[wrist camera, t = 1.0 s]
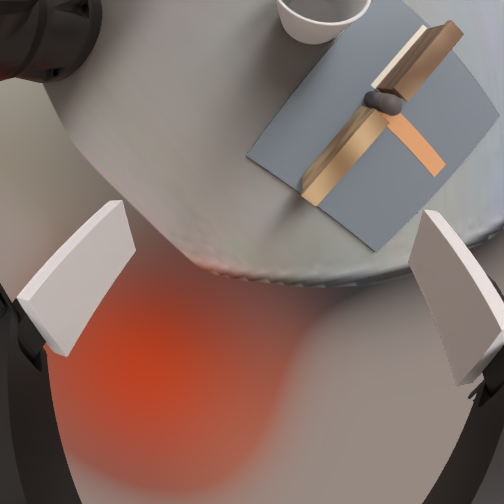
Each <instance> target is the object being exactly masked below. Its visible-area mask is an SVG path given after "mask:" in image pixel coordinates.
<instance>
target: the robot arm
mask: <svg viewBox="0 0 504 504" xmlns="http://www.w3.org/2000/svg"><path fill="white" fill-rule="evenodd" d="M101 20H102V7H101V2H100V0H0V81H2V80H5V79H10V78H14V77H16V78H20V79H25V80H30V81H34V82H38V83H48V82H53V81H58V80H61V79H64V78H66V77H67V76H69V75H70V74H72V73H73V72H74V71H75V70H76V69H77V68H78V67H79V66H80V65H81V64H82V63H83V62H84V60H85V59H86V58H87V56H88V55H89V53H90V51H91V50H92V48H93V46H94V44H95V41H96V39H97V36H98V33H99V30H100V26H101ZM135 251H136V249H135V246H134V242H133V239H132V235H131V232H130V228H129V224H128V220H127V217H126V213H125V209H124V204H123V200H116V201H109V202H108V203H107V204H105V205H104V206H103V207H102V208H101V209H100V210H99V211H97V212H96V213H95V214H94V215H93V216H92V217H91V218H90V219H89V220H88V221H87V222H86V223H85V224H83V225H82V226H81V227H80V228H79V229H78V230H77V231H76V232H75V233H74V234H73V235H72V236H71V237H70V238H69V239H68V240H67V241H66V242H65V243H64V244H63V245H62V246H61V247H60V248H59V249H58V250H57V252H55V254H54V255H53V256H52V257H51V258H50V259H49V260H48V261H47V262H46V263H45V264H44V266H43V267H42V268H41V269H40V270H39V271H38V272H37V274H35V276H34V277H33V278H32V279H31V280H30V281H29V283H28V284H27V285H26V286H25V287H24V289H23V290H22V291H21V292H20V294H19V295H18V296H17V297H16V299H15V300H14V301H13V303H12V302H11V300H10V299H9V297H8V296H7V294H6V292H5V290H4V289H3V287H2V285H1V284H0V504H82V503H81V500H80V498H79V495H78V493H77V490H76V488H75V485H74V482H73V479H72V476H71V473H70V470H69V467H68V464H67V461H66V457H65V454H64V450H63V447H62V443H61V439H60V435H59V431H58V427H57V422H56V417H55V412H54V408H53V401H52V395H51V389H50V381H49V373H48V364H47V354H46V351H45V350H44V348H43V346H44V344H45V342H46V343H47V344H48V345H49V347H50V348H51V349H52V351H53V352H55V353H57V354H60V355H63V356H66V357H68V355H69V353H70V351H71V350H72V348H73V346H74V344H75V343H76V341H77V339H78V337H79V336H80V334H81V332H82V331H83V329H84V327H85V326H86V324H87V323H88V321H89V319H90V318H91V316H92V314H93V313H94V311H95V310H96V308H97V307H98V305H99V303H100V302H101V300H102V299H103V297H104V296H105V294H106V293H107V291H108V290H109V288H110V287H111V285H112V284H113V282H114V281H115V279H116V278H117V276H118V275H119V274H120V272H121V271H122V269H123V268H124V266H125V265H126V264H127V262H128V261H129V259H130V258H131V257H132V255H133V254H134V253H135ZM408 263H409V265H410V267H411V270H412V272H413V274H414V276H415V278H416V280H417V282H418V284H419V287H420V289H421V291H422V293H423V296H424V298H425V300H426V302H427V305H428V307H429V310H430V312H431V314H432V317H433V319H434V322H435V325H436V327H437V330H438V332H439V335H440V338H441V340H442V343H443V346H444V349H445V352H446V355H447V358H448V361H449V363H450V367H451V370H452V373H453V377H454V380H455V383H456V386H460V385H464V384H469V383H472V382H473V381H474V380H475V379H476V378H477V377H478V376H479V375H480V374H481V373H483V376H484V380H483V381H482V382H481V383H480V384H479V385H478V386H477V388H475V390H473V391H472V392H471V393H470V395H469V397H468V398H469V399H470V398H471V397H473V395H475V394H476V393H477V394H476V397H475V399H474V400H473V401H474V403H473V406H472V408H471V411H470V414H469V416H468V419H467V421H466V424H465V426H464V429H463V431H462V433H461V435H460V437H459V439H458V442H457V444H456V446H455V448H454V450H453V452H452V454H451V456H450V458H449V460H448V462H447V464H446V466H445V467H444V469H443V471H442V473H441V474H440V476H439V478H438V480H437V482H436V483H435V485H434V486H433V488H432V490H431V491H430V493H429V494H428V496H427V497H426V499H425V500H424V502H423V503H422V504H504V296H503V295H502V294H501V293H502V292H501V291H500V289H499V288H498V286H497V285H496V283H495V282H494V281H493V280H492V279H491V278H490V277H489V276H488V275H487V274H485V272H484V271H483V269H482V268H481V266H480V265H479V264H478V262H477V261H476V259H475V258H474V257H473V255H472V254H471V253H470V251H469V250H468V248H467V247H466V246H465V244H464V243H463V242H462V240H461V239H460V238H459V237H458V235H457V234H456V233H455V232H454V230H453V229H452V228H451V227H450V225H449V224H448V223H447V222H446V221H445V219H444V218H443V217H442V216H441V215H440V214H439V212H438V211H431V210H423V213H422V217H421V221H420V224H419V228H418V232H417V235H416V238H415V242H414V245H413V248H412V252H411V255H410V258H409V261H408Z"/></svg>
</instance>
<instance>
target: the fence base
mask: <svg viewBox="0 0 504 504" xmlns="http://www.w3.org/2000/svg"><path fill="white" fill-rule="evenodd" d="M463 35H464V34H463V33H462V31H461V30H460V29H459V28H458V27H457V26H456V25H455V24H454V22H453V21H452V20H450V21H447V22H446V23H445V24H444V25H440V26H436V27H433V28H429V29H426V30H425V31H424V32H423V34H422V35H421V36H420V37H419V38H418V39H417V40H416V42H415V43H414V44H413V45H412V46H411V47H410V49H409V50H408V51H407V52H406V53H405V54H404V55H403V57H402V58H401V59H400V60H399V61H398V62H397V64H396V65H395V66H394V67H393V68H392V69H391V71H390V72H389V73H388V74H387V75H386V76H385V78H384V79H383V80H382V81H381V82H380V83H379V85H378V86H377V87H376V88H377V89H378V90H379V91H380V92H374V91H369V92H367V93H366V94H365V96H364V102H365V104H366V106H368V107H369V108H371V109H373V108H374V109H376V110H377V111H380V112H382V113H385V114H387V115H390V116H396V115H398V114H399V113H400V112H401V110H402V102H401V100H400V99H399V98H402V99H403V100H404V101H407V102H408V101H409V100H410V99H411V97H412V96H413V95H414V94H415V93H416V92H417V90H418V89H419V88H420V87H421V86H422V84H423V83H424V82H425V81H426V80H427V78H428V77H429V76H430V75H431V74H432V73H433V71H434V70H435V69H436V68H437V66H438V65H439V64H440V63H441V62H442V60H443V59H444V58H445V57H446V56H447V54H448V53H449V52H450V51H451V50H452V48H453V47H454V46H455V45H456V43H457V42H458V41H459V40H460V38H461V37H462V36H463Z"/></svg>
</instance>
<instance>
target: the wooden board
mask: <svg viewBox="0 0 504 504" xmlns="http://www.w3.org/2000/svg"><path fill="white" fill-rule="evenodd" d="M389 123H390V122H389V121H388V120H387V119H386V118H385V117H383V116H382V115H381V114H380V113H379V112H378V111H377V110H376V109H374V108H373V109H370V108H367V107H365V106H362V105H361V107H360V108H359V109H358V110H357V111H356V112H355V114H354V115H353V116H352V117H351V118H350V120H349V121H348V122H347V123H346V124H345V126H344V127H343V128H342V129H341V130H340V131H339V133H338V134H337V135H336V136H335V137H334V139H333V140H332V141H331V142H330V143H329V145H328V146H327V147H326V148H325V149H324V151H323V152H322V153H321V154H320V155H319V156H318V158H317V159H316V160H315V161H314V162H313V164H312V165H311V166H310V167H309V168H308V170H307V171H306V172H305V173H304V174H303V176H302V185H303V191H302V192H301V196H302V197H303V198H305V199H306V200H308V201H309V202H310V203H312V204H313V205H314V206H317V205H318V204H319V203H320V202H321V201H322V200H323V198H324V197H325V196H326V195H327V194H328V193H329V192H330V191H331V189H332V188H333V187H334V186H335V185H336V184H337V183H338V182H339V180H340V179H341V178H342V177H343V176H344V175H345V174H346V173H347V171H348V170H349V169H350V168H351V167H352V166H353V165H354V163H355V162H356V161H357V160H358V159H359V158H360V157H361V155H362V154H363V153H364V152H365V151H366V150H367V149H368V147H369V146H370V145H371V144H372V143H373V142H374V141H375V139H376V138H377V137H378V136H379V135H380V134H381V132H382V131H383V130H384V129H385V128H386V127H387V126H388V124H389Z"/></svg>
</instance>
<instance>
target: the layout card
mask: <svg viewBox="0 0 504 504" xmlns="http://www.w3.org/2000/svg"><path fill="white" fill-rule="evenodd" d="M429 28H431V27H430V26H429V25H428V24H427V23H426V22H425V21H424V20H423V19H422V18H421V17H420V16H419V15H417V14H416V13H415V12H414V11H413V10H412V9H411V8H410V7H409V6H407V5H406V4H405V3H404V2H403V1H401V0H373V1H372V2H371V3H370V5H369V7H368V9H367V11H366V12H365V13H364V14H363V15H362V16H361V17H360V18H359V19H357V20H356V21H355V22H353V23H352V24H351V25H350V26H349V27H348V28H347V29H346V30H345V31H344V32H343V33H342V35H341V36H340V37H339V38H338V39H337V40H336V41H335V43H334V44H333V45H332V46H331V47H330V48H329V50H328V51H327V52H326V53H325V54H324V55H323V57H322V58H321V59H320V60H319V61H318V63H317V64H316V65H315V66H314V68H313V69H312V70H311V71H310V72H309V74H308V75H307V76H306V77H305V79H304V80H303V81H302V82H301V84H300V85H299V86H298V87H297V89H296V90H295V91H294V92H293V94H292V95H291V96H290V98H289V99H288V100H287V101H286V103H285V104H284V105H283V107H282V108H281V109H280V111H279V112H278V113H277V114H276V116H275V117H274V118H273V120H272V121H271V122H270V124H269V125H268V126H267V128H266V129H265V131H264V132H263V133H262V135H261V136H260V137H259V139H258V140H257V141H256V143H255V144H254V146H253V147H252V148H251V150H250V151H249V153H248V154H247V155H246V156H247V157H249V158H250V159H252V160H253V161H255V162H256V163H258V164H259V165H261V166H262V167H264V168H265V169H267V170H268V171H270V172H271V173H272V174H274V175H275V176H277V177H278V178H280V179H281V180H282V181H284V182H285V183H287V184H288V185H290V186H291V187H292V188H294V189H295V190H297V191H298V192H299V193H301V192H302V191H303V185H302V176H303V174H304V173H305V172H306V171H307V170H308V168H309V167H310V166H311V165H312V164H313V162H314V161H315V160H316V159H317V158H318V156H319V155H320V154H321V153H322V152H323V151H324V149H325V148H326V147H327V146H328V145H329V143H330V142H331V141H332V140H333V139H334V137H335V136H336V135H337V134H338V133H339V131H340V130H341V129H342V128H343V127H344V126H345V124H346V123H347V122H348V121H349V120H350V118H351V117H352V116H353V115H354V114H355V112H356V111H357V110H358V109H359V108H360V107H361V105H362V106H365V107H367V108H369V107H368V106H366V104H365V102H364V96H365V94H366V93H367V92H369V91H374V92H380V91H379V90H378V89H377V88H376V87H377V86H378V85H379V83H380V82H381V81H382V80H383V79H384V78H385V76H386V75H387V74H388V73H389V72H390V71H391V69H392V68H393V67H394V66H395V65H396V64H397V62H398V61H399V60H400V59H401V58H402V57H403V55H404V54H405V53H406V52H407V51H408V50H409V49H410V47H411V46H412V45H413V44H414V43H415V42H416V40H417V39H418V38H419V37H420V36H421V35H422V34H423V32H424V31H425V30H426V29H429ZM399 99H400V100H401V102H402V110H401V112H400V113H399V114H398V115H396V116H390V115H387V114H385V113H382V112H380V111H378V112H379V113H380V114H381V115H382V116H383V117H385V118H386V119H387V120H388V121H389V122H390V123H389V124H388V126H387V127H386V128H385V129H384V130H383V131H382V132H381V134H380V135H379V136H378V137H377V138H376V139H375V141H374V142H373V143H372V144H371V145H370V146H369V147H368V149H367V150H366V151H365V152H364V153H363V154H362V155H361V157H360V158H359V159H358V160H357V161H356V162H355V163H354V165H353V166H352V167H351V168H350V169H349V170H348V171H347V173H346V174H345V175H344V176H343V177H342V178H341V179H340V180H339V182H338V183H337V184H336V185H335V186H334V187H333V188H332V189H331V191H330V192H329V193H328V194H327V195H326V196H325V197H324V198H323V200H322V201H321V202H320V203H319V204H318V205H317V206H318V207H320V208H321V209H322V210H324V211H325V212H326V213H328V214H329V215H330V216H331V217H333V218H334V219H335V220H337V221H338V222H339V223H340V224H342V225H343V226H344V227H346V228H347V229H348V230H349V231H351V232H352V233H353V234H354V235H356V236H357V237H358V238H359V239H361V240H362V241H363V242H364V243H365V244H367V245H368V246H369V247H370V248H372V249H373V250H374V251H375V252H378V251H379V250H380V249H381V248H382V247H383V246H384V245H385V244H386V243H387V242H388V241H389V240H390V239H391V238H392V237H393V236H394V235H395V234H396V233H397V232H398V231H399V230H400V229H401V228H402V227H403V226H404V225H405V224H406V223H407V222H408V221H409V220H410V219H411V218H412V217H413V216H414V215H415V214H416V213H417V212H418V211H419V210H420V209H421V208H422V207H423V206H424V205H425V204H426V203H427V202H428V201H429V200H430V199H431V197H432V196H433V195H434V194H435V193H436V192H437V191H438V190H439V189H440V188H441V187H442V186H443V184H444V183H445V182H446V181H447V180H448V179H449V178H450V177H451V175H452V174H453V173H454V172H455V171H456V170H457V169H458V167H459V166H460V165H461V164H462V163H463V162H464V160H465V159H466V158H467V157H468V156H469V154H470V153H471V152H472V151H473V150H474V148H475V147H476V146H477V145H478V143H479V142H480V141H481V140H482V138H483V137H484V136H485V135H486V133H487V132H488V131H489V129H490V128H491V127H492V125H493V124H494V123H495V121H496V120H497V119H498V117H499V116H500V115H499V113H498V112H497V110H496V108H495V107H494V105H493V104H492V102H491V101H490V99H489V98H488V96H487V95H486V93H485V92H484V90H483V89H482V87H481V86H480V85H479V83H478V82H477V80H476V79H475V78H474V76H473V75H472V74H471V72H470V71H469V70H468V69H467V67H466V66H465V65H464V64H463V62H462V61H461V60H460V59H459V57H458V56H457V55H456V54H455V53H454V52H453V50H451V51H450V52H449V53H448V54H447V56H446V57H445V58H444V59H443V60H442V62H441V63H440V64H439V65H438V66H437V68H436V69H435V70H434V71H433V73H432V74H431V75H430V76H429V77H428V78H427V80H426V81H425V82H424V83H423V84H422V86H421V87H420V88H419V89H418V90H417V92H416V93H415V94H414V95H413V96H412V97H411V99H410V100H409V101H408V102H407V101H404V100H403V99H402V98H399ZM370 109H371V108H370Z"/></svg>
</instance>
